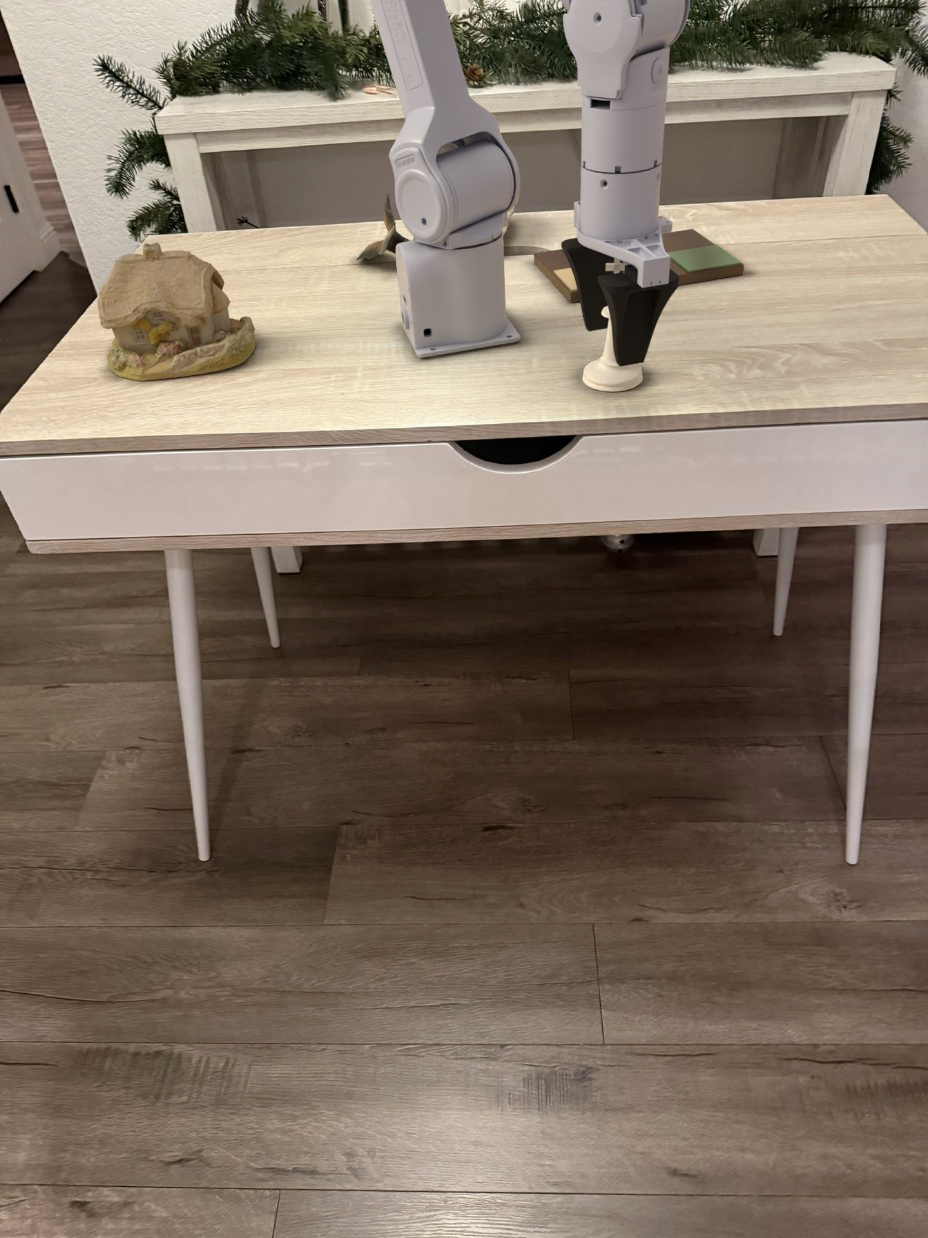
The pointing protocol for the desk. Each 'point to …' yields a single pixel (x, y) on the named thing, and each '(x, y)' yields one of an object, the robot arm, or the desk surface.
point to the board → (685, 248)
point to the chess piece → (611, 359)
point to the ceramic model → (170, 317)
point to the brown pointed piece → (389, 240)
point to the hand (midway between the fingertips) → (613, 344)
